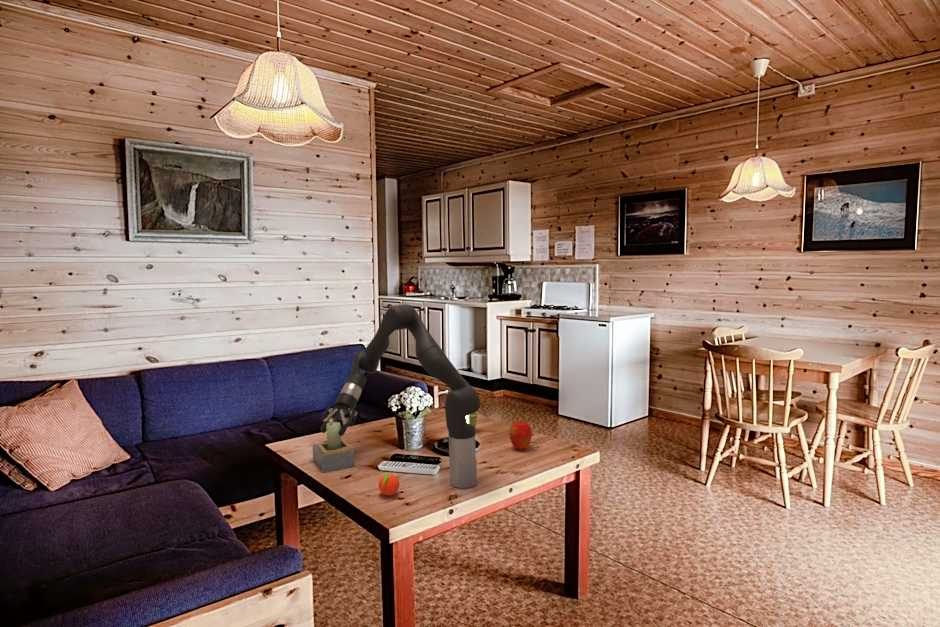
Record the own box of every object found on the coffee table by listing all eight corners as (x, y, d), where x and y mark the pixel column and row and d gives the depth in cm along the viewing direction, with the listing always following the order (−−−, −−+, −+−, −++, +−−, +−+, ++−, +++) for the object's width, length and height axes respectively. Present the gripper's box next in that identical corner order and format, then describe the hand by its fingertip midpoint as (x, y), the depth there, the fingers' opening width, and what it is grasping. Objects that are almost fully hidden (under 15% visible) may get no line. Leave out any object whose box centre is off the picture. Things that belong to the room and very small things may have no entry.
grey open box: (354, 466, 216) (354, 447, 216) (323, 472, 211) (322, 453, 210) (342, 453, 230) (342, 435, 230) (313, 459, 225) (312, 440, 224)
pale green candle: (333, 445, 222) (332, 415, 220) (344, 447, 220) (342, 417, 218) (324, 450, 217) (323, 419, 216) (335, 452, 215) (333, 421, 214)
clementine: (393, 501, 186) (392, 480, 185) (374, 499, 187) (373, 478, 187) (402, 491, 193) (402, 471, 192) (384, 489, 195) (383, 469, 194)
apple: (508, 445, 237) (508, 417, 235) (530, 444, 237) (530, 416, 235) (510, 453, 227) (510, 424, 226) (533, 452, 227) (532, 423, 226)
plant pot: (464, 428, 261) (464, 409, 260) (482, 431, 256) (482, 412, 255) (453, 433, 253) (453, 414, 252) (471, 437, 248) (471, 417, 247)
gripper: (330, 390, 226) (311, 426, 217) (359, 393, 219) (341, 431, 210) (339, 400, 231) (321, 435, 222) (368, 403, 225) (350, 440, 216)
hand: (331, 433), depth 216 cm, fingers open, 8 cm apart
